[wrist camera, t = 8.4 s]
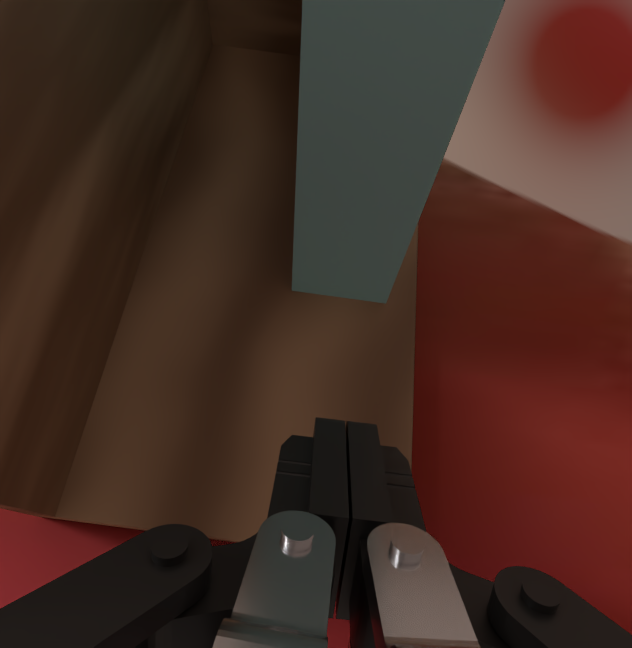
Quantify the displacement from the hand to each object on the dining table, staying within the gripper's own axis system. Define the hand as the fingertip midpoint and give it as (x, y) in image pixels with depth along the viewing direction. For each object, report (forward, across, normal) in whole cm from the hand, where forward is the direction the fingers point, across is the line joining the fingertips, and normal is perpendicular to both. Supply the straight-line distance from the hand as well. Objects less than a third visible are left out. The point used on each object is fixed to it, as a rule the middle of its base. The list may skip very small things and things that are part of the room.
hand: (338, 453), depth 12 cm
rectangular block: (+13, 0, -5) cm, 14 cm away
